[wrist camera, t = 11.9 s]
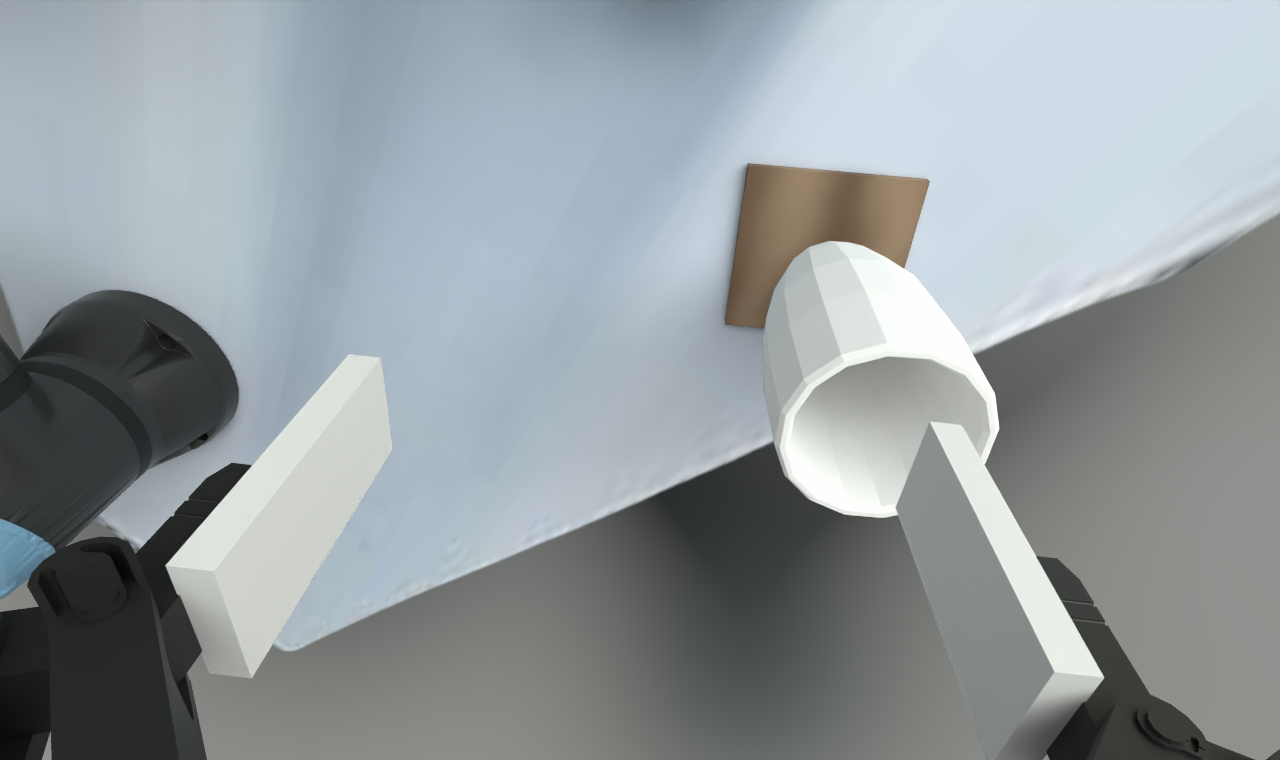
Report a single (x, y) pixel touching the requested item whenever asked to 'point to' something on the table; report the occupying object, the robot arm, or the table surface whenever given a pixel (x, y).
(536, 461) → the table surface
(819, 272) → the cup
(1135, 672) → the robot arm
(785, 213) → the coaster
